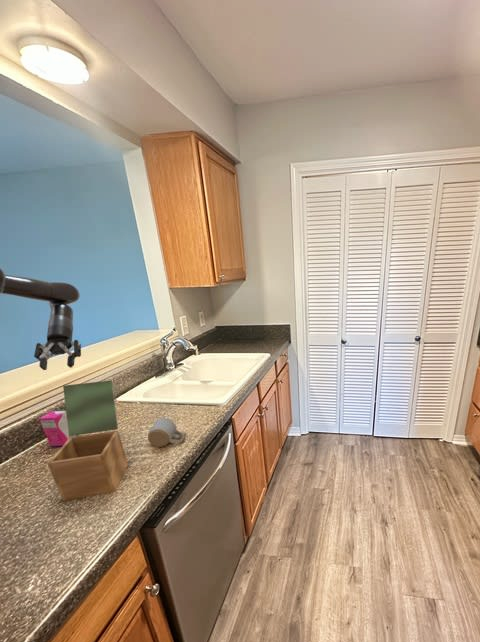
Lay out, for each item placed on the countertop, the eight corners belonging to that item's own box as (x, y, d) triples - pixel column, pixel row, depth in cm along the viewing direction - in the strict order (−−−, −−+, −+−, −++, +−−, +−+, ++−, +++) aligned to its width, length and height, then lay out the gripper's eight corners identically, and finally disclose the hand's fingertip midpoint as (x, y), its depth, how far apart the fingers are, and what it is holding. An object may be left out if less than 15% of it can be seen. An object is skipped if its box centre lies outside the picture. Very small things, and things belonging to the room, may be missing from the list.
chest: (116, 495, 87) (103, 455, 82) (64, 505, 84) (47, 463, 79) (129, 467, 99) (118, 430, 94) (83, 474, 96) (70, 437, 91)
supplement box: (61, 439, 118) (50, 410, 114) (77, 438, 118) (67, 410, 113) (49, 447, 113) (37, 418, 108) (66, 447, 113) (54, 417, 108)
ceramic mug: (149, 449, 108) (144, 429, 105) (156, 437, 116) (152, 418, 113) (181, 447, 109) (177, 426, 106) (186, 435, 116) (183, 416, 114)
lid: (111, 380, 94) (112, 380, 95) (62, 385, 91) (64, 385, 92) (117, 429, 93) (118, 429, 94) (68, 436, 91) (70, 435, 92)
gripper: (32, 325, 117) (27, 365, 111) (75, 322, 120) (73, 360, 114) (45, 337, 124) (41, 374, 118) (86, 333, 126) (83, 370, 121)
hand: (56, 367), depth 116 cm, fingers open, 8 cm apart
